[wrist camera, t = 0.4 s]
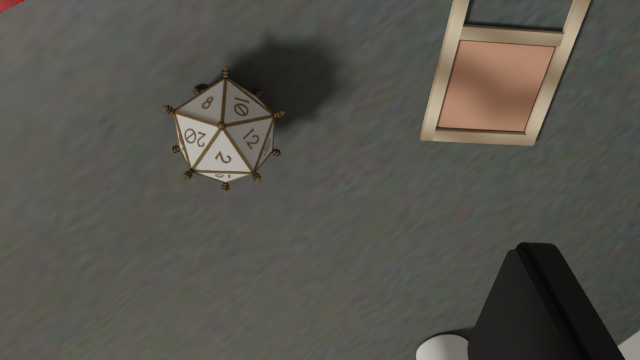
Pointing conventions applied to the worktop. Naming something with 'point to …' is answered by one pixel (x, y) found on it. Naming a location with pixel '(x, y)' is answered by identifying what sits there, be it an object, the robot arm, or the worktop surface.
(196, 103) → the game die
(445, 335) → the can
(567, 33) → the game track
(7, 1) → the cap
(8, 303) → the worktop surface
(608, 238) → the worktop surface
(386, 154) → the worktop surface
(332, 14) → the worktop surface
